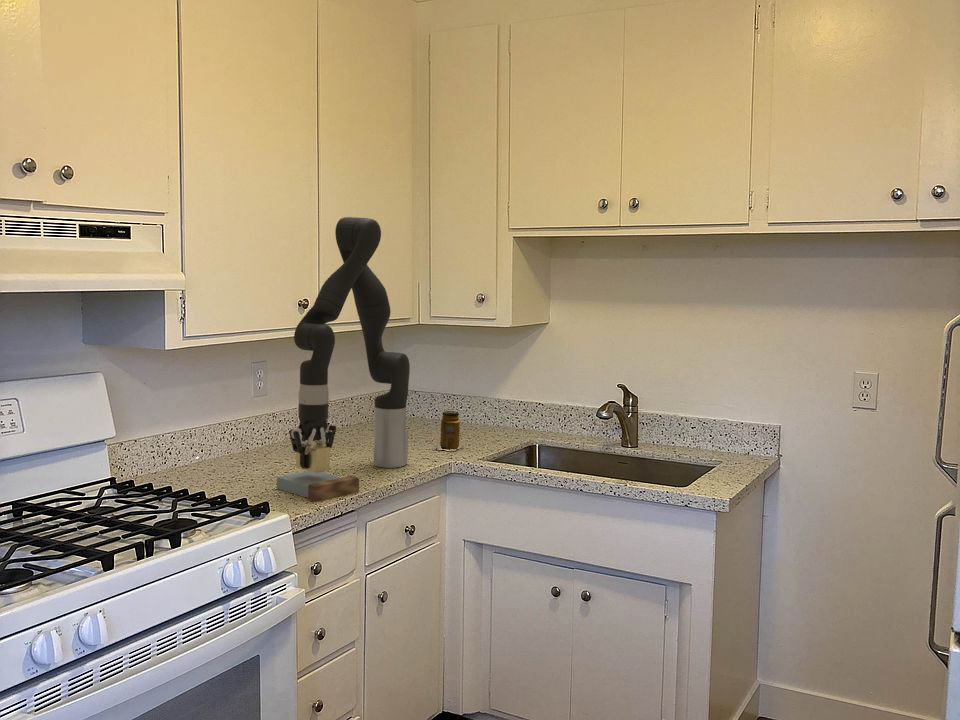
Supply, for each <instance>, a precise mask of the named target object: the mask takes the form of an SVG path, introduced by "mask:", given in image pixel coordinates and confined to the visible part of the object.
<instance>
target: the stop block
mask: <svg viewBox="0 0 960 720" xmlns="http://www.w3.org/2000/svg"><path fill="white" fill-rule="evenodd" d="M357 493H360V477H358V476H354V475H347V476H343V477H342V478H337V479H333V480H328V481H323V482H318V483H313V484H309V485H308V498H307V499H308V501H311V502H314V503H318V502H322V501H326V500H331V499H336V498H340V497H345V496H349V495H353V494H357Z"/></svg>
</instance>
